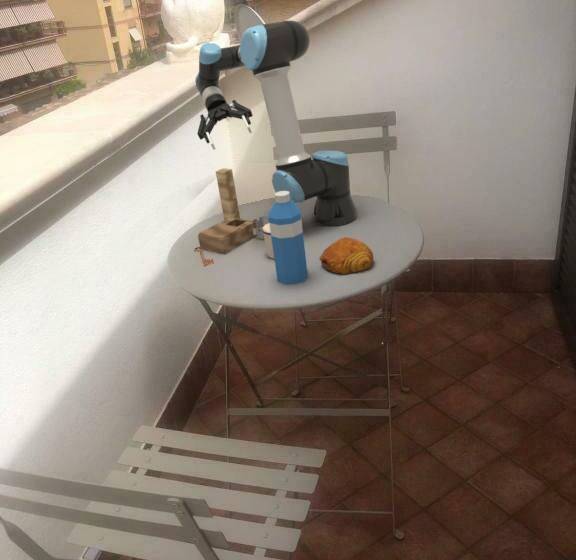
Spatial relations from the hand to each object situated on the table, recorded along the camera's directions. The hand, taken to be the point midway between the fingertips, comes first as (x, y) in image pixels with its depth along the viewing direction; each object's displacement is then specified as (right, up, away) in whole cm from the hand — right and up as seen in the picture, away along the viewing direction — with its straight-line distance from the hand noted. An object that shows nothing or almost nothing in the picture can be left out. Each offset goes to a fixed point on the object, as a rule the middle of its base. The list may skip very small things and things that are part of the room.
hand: (231, 138), depth 195 cm
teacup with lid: (+17, -39, -15) cm, 45 cm away
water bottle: (+21, -47, -31) cm, 60 cm away
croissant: (+36, -44, -28) cm, 63 cm away
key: (-7, -41, -11) cm, 43 cm away
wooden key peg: (0, -28, +10) cm, 30 cm away
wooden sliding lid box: (0, -35, -4) cm, 36 cm away
